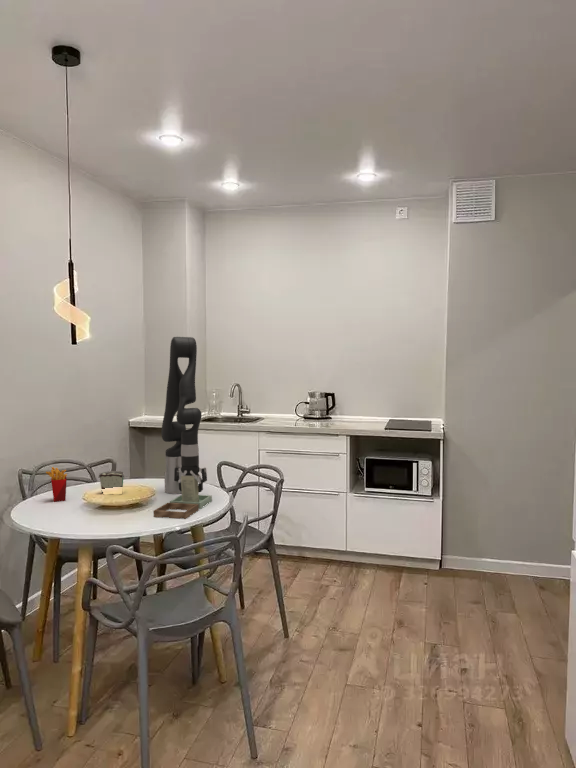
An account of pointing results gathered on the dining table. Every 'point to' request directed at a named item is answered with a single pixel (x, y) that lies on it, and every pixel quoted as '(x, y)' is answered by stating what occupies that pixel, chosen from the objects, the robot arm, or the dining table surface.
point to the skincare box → (189, 489)
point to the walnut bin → (173, 514)
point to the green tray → (202, 502)
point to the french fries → (58, 484)
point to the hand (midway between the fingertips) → (190, 491)
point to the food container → (111, 479)
